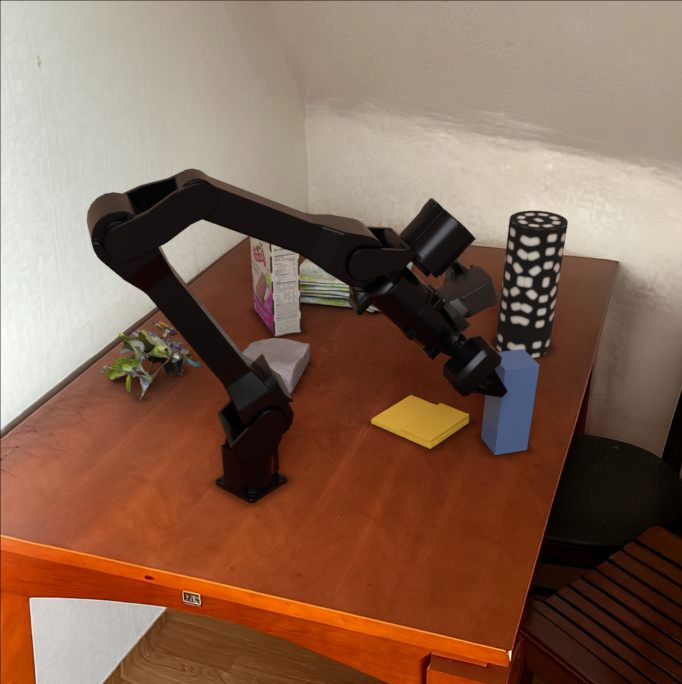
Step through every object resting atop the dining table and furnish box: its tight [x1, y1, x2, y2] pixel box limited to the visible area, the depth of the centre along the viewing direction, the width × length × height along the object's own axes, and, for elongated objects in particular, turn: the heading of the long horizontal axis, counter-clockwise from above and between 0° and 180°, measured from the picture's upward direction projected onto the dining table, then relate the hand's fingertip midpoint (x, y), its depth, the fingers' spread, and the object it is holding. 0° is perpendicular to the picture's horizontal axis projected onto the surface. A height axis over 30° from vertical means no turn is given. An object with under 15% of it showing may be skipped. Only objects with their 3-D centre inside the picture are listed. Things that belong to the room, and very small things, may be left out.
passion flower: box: [100, 320, 202, 401], centre depth 134 cm, size 11×11×12 cm
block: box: [480, 349, 540, 456], centre depth 121 cm, size 5×5×12 cm
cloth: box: [370, 394, 470, 450], centre depth 128 cm, size 9×10×1 cm
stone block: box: [241, 337, 311, 395], centre depth 138 cm, size 12×5×10 cm
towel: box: [300, 258, 414, 313], centre depth 164 cm, size 18×21×5 cm
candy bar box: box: [249, 236, 302, 337], centre depth 149 cm, size 11×5×16 cm, turn 22°
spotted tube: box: [494, 210, 569, 359], centre depth 142 cm, size 8×8×20 cm
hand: (488, 376), depth 117 cm, fingers open, 9 cm apart
